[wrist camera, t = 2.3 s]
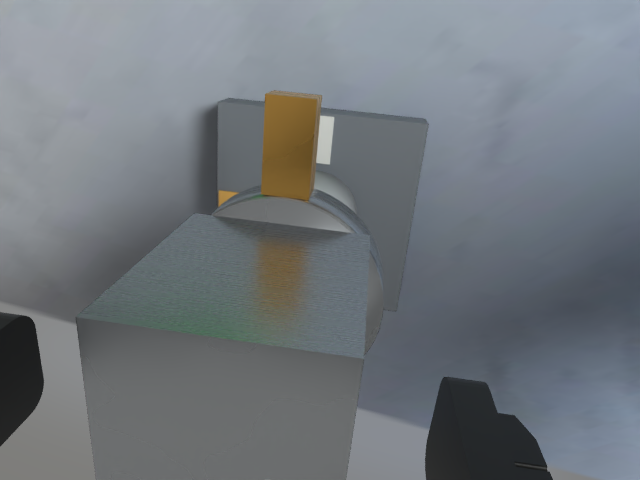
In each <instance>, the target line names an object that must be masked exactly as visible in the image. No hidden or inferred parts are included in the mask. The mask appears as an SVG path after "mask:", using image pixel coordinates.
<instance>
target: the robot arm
mask: <svg viewBox="0 0 640 480" xmlns="http://www.w3.org/2000/svg"><path fill="white" fill-rule="evenodd" d="M43 385H44V379H43V372H42V366H41V359H40V353H39V347H38V340H37V334H36V328H35V324H34V322H33V320H32V319H31V318H30V317H27V316H22V315H15V314H8V313H1V312H0V446H1V445H2V444H3V443H4V442H5V441H6V440H7V439H8V438H9V437H10V436H11V434H12V433H13V432H14V431H15V430H16V429H17V428H18V427H19V426H20V425H21V424H22V423H23V422H24V421H25V420H26V419H27V417H28V416H29V415H30V414H31V413H32V412H33V410H34V409H35V408H36V406H37V404H38V402H39V400H40V398H41V395H42V391H43ZM425 471H426V480H553V479H552V477H551V474H550V472H547V465H546V462H545V460H544V457H543V455H542V453H541V450H540V448H539V446H538V443H537V441H536V439H535V438H534V437H533V436H532V434H531V433H530V432H529V431H528V430H527V429H526V428H525V427H524V425H523V424H522V423H521V422H520V421H519V420H518V419H517V418H516V416H514V415H507V414H500V413H497V410H496V407H495V404H494V401H493V398H492V395H491V392H490V390H489V387H488V385H487V384H486V383H485V382H479V381H472V380H465V379H458V378H451V377H444V378H443V379H442V381H441V384H440V388H439V392H438V396H437V401H436V405H435V409H434V413H433V418H432V422H431V426H430V430H429V435H428V439H427V445H426V458H425Z"/></svg>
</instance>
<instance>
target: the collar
mask: <svg viewBox="0 0 640 480" xmlns="http://www.w3.org/2000/svg"><path fill="white" fill-rule="evenodd" d="M321 102H322V95H313V94H303V93H294V92H284V91H275V90H274V91H271V92H269V93H266V94H265V111H264V134H263V158H262V181H261V185H260V186H255V187H252V188H249V189H246V190H244V191H242V192H240V193H238V194H236V195H234V196H232V197H231V198H229V199H228V200H227V201H225V202H224V203H222V204H221V205H220V206H219V207H218V208H217V209H216V210H215V211H214V212H213V213H212V214H211V215H205V214H197V213H194V214H193V215H192V216H190V217H189V218H188V219H187V220H186V221H185V222H184V223H182V224H181V225H180V226H179V227H178V228H177V229H176V230H174V231H173V232H172V233H171V234H170V235H169V236H168V237H166V238H165V239H164V240H163V241H162V242H161V243H160V244H158V245H157V246H156V247H155V248H154V249H153V250H152V251H150V252H149V253H148V254H147V255H146V256H145V257H144V258H143V259H141V260H140V261H139V262H138V263H137V264H136V265H135V266H133V267H132V268H131V269H130V270H129V271H128V272H127V273H125V274H124V275H123V276H122V277H121V278H120V279H119V280H117V281H116V282H115V283H114V284H113V285H112V286H111V287H109V288H108V289H107V290H106V291H105V292H104V293H103V294H101V295H100V296H99V297H98V298H97V299H96V300H95V301H93V302H92V303H91V304H90V305H89V306H88V307H87V308H85V309H84V310H83V311H82V312H81V313H80V314H79V315H77V316H76V323H77V331H78V339H79V347H80V356H81V364H82V371H83V380H84V388H85V396H86V404H87V412H88V420H89V428H90V436H91V444H92V452H93V460H94V468H95V476H96V480H346V475H347V469H348V463H349V456H350V449H351V443H352V436H353V429H354V422H355V416H356V409H357V403H358V396H359V389H360V383H361V376H362V369H363V363H364V355H365V354H366V353H367V352H368V350H369V349H370V347H371V346H372V344H373V342H374V340H375V338H376V336H377V333H378V331H379V329H380V324H381V320H382V315H383V269H382V262H381V257H380V253H379V250H378V247H377V245H376V242H375V240H374V238H373V236H372V234H371V233H370V231H369V229H368V228H367V227H366V225H365V224H364V222H363V221H362V220H361V219H360V218H359V217H358V216H357V215H356V214H355V212H354V211H352V210H351V209H350V208H349V207H348V206H346V205H345V204H344V203H343V202H341V201H339V200H338V199H336V198H335V197H333V196H331V195H329V194H327V193H325V192H323V191H320V190H318V189H314V182H315V171H316V159H317V148H318V136H319V125H320V113H321Z"/></svg>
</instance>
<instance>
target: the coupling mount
mask: <svg viewBox="0 0 640 480" xmlns="http://www.w3.org/2000/svg"><path fill="white" fill-rule="evenodd" d="M264 111H265V102H261V101H252V100H242V99H233V98H228V99H225V100H222V101H219V102H218V144H217V208H218V207H219V206H220V205H221V204H222V203H224V202H225V201H227V200H228V199H229V198H231V197H232V196H234V195H236V194H238V193H240V192H242V191H244V190H246V189H249V188H252V187H255V186H260V185H261V181H262V158H263V134H264ZM428 125H429V124H428V123H427V121H426V120H425V119H421V118H412V117H402V116H393V115H384V114H374V113H365V112H355V111H346V110H336V109H327V108H321V113H320V125H319V136H318V148H317V159H316V171H315V182H314V189H318V190H320V191H323V192H325V193H327V194H329V195H331V196H333V197H335V198H336V199H338V200H339V201H341V202H343V203H344V204H345V205H346V206H348V207H349V208H350V209H351V210H352V211H354V212H355V214H356V215H357V216H358V217H359V218H360V219H361V220H362V221H363V222H364V224H365V225H366V227H367V228H368V229H369V231H370V233H371V234H372V236H373V238H374V240H375V242H376V245H377V247H378V250H379V253H380V257H381V262H382V269H383V310H389V311H396V310H397V304H398V299H399V293H400V287H401V281H402V275H403V270H404V264H405V258H406V252H407V247H408V241H409V235H410V229H411V223H412V218H413V212H414V206H415V200H416V195H417V189H418V183H419V177H420V171H421V166H422V160H423V154H424V148H425V143H426V137H427V131H428Z"/></svg>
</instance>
